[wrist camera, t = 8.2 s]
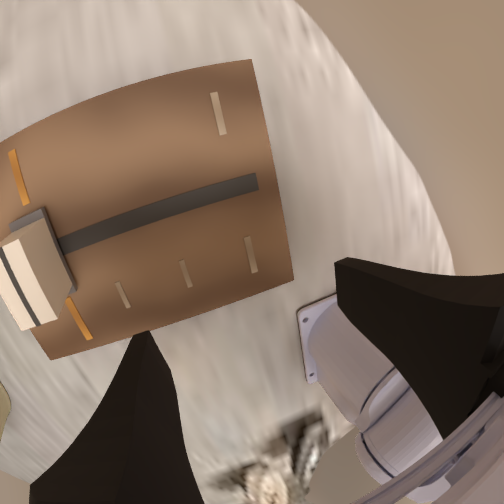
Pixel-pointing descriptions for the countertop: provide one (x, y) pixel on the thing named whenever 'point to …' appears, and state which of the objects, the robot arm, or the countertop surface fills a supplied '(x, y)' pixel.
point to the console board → (152, 202)
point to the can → (3, 408)
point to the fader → (33, 271)
